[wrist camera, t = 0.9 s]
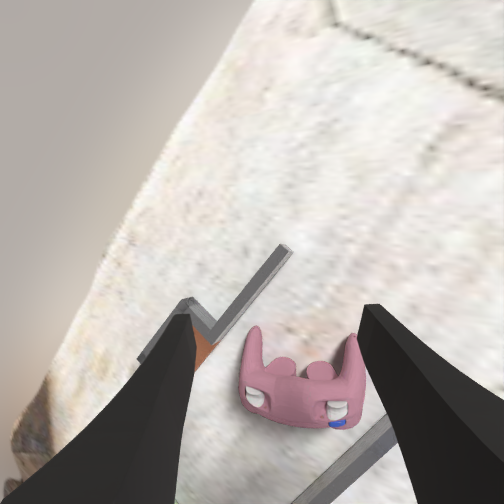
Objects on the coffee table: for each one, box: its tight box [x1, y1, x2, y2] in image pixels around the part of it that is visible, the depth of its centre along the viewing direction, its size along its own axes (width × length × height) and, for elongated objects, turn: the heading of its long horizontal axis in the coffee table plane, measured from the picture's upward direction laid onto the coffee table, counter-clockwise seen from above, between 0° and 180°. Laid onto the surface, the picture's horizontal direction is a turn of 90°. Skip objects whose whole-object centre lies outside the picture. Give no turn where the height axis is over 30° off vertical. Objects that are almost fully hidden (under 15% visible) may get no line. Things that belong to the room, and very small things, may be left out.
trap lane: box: [137, 244, 398, 504], centre depth 25 cm, size 24×28×3 cm
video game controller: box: [238, 326, 366, 430], centre depth 23 cm, size 10×5×7 cm, turn 91°
